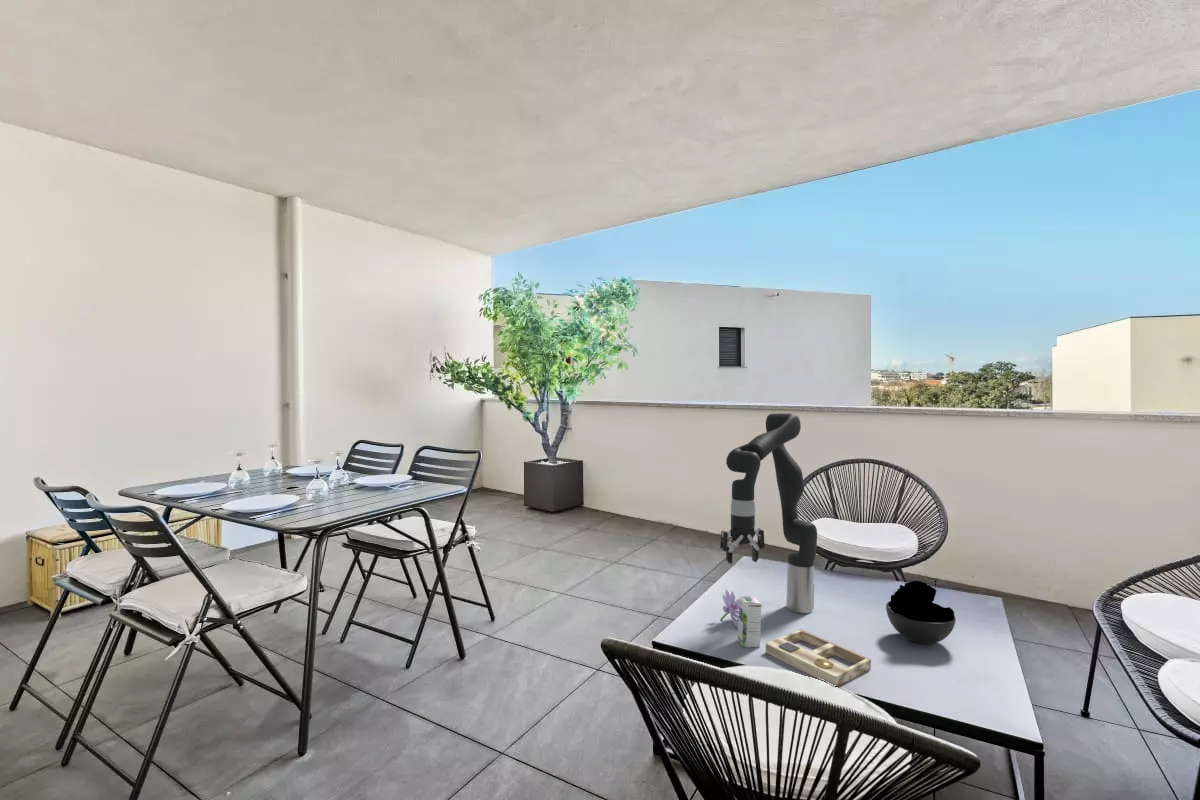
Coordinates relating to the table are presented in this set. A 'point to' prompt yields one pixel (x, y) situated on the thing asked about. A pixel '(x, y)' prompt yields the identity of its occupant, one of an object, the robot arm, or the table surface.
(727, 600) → the water lily
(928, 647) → the table surface
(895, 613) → the bowl of black rocks
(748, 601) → the syrup box
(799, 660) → the socket block
